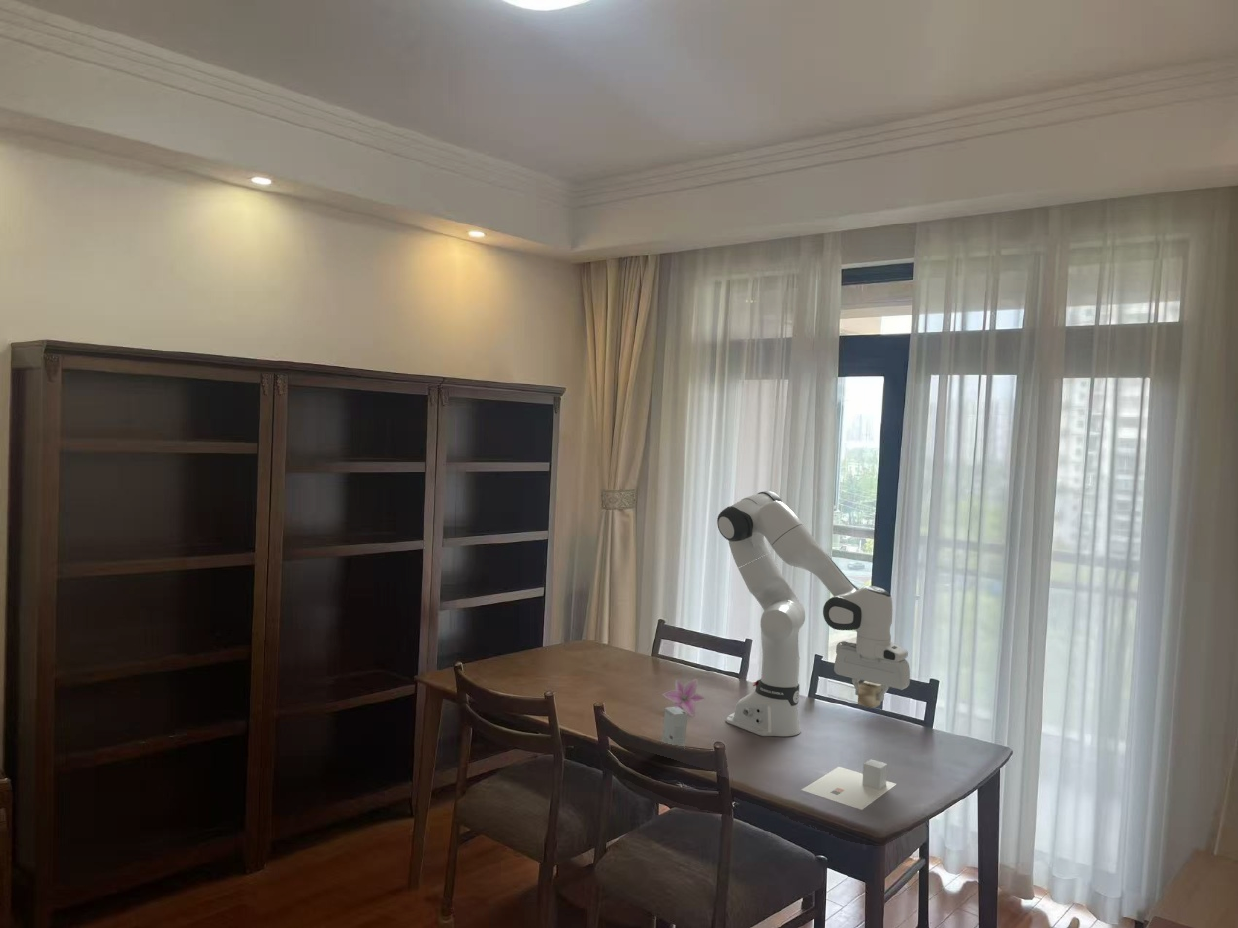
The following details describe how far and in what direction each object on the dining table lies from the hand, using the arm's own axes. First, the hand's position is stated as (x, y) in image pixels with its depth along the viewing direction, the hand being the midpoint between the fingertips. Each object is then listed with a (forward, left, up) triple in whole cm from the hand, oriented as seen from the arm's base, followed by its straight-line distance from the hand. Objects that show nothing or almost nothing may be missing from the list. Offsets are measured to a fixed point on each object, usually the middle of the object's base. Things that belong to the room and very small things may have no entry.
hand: (869, 697), depth 237 cm
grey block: (+7, -11, -19) cm, 23 cm away
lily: (-61, +2, -19) cm, 64 cm away
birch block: (0, 0, -2) cm, 2 cm away
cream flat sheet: (+3, -17, -19) cm, 25 cm away
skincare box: (-42, -31, -19) cm, 55 cm away
